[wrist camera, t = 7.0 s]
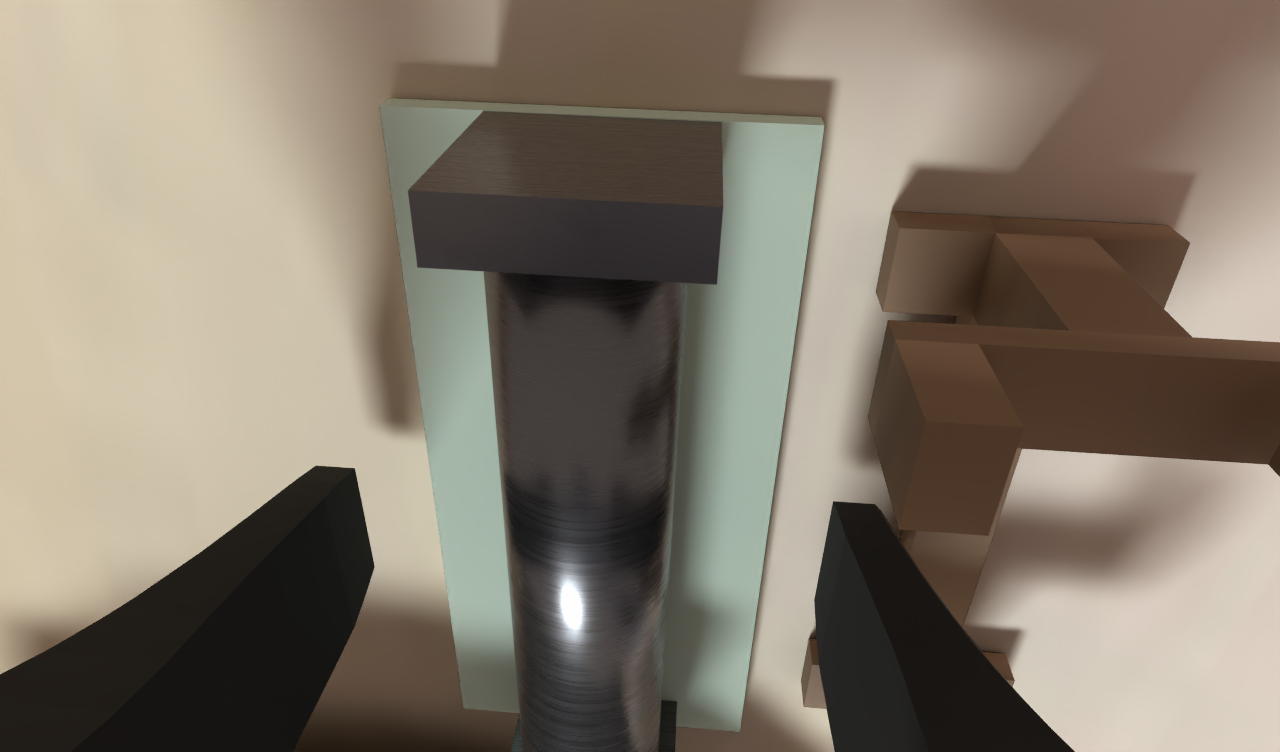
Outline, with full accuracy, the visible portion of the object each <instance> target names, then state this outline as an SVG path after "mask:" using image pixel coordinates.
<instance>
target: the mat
mask: <svg viewBox="0 0 1280 752" xmlns="http://www.w3.org/2000/svg"><path fill="white" fill-rule="evenodd" d="M379 108H380V115H381V122H382V130H383V137H384V144H385V151H386V158H387V165H388V172H389V180H390V187H391V194H392V201H393V208H394V215H395V222H396V230H397V237H398V244H399V251H400V258H401V265H402V273H403V280H404V287H405V294H406V301H407V308H408V315H409V323H410V330H411V337H412V344H413V351H414V358H415V365H416V373H417V380H418V387H419V394H420V401H421V408H422V415H423V423H424V430H425V437H426V444H427V451H428V458H429V466H430V473H431V480H432V487H433V494H434V501H435V508H436V516H437V523H438V530H439V537H440V544H441V551H442V558H443V566H444V573H445V580H446V587H447V594H448V601H449V608H450V616H451V623H452V630H453V637H454V644H455V651H456V658H457V666H458V673H459V680H460V687H461V694H462V701H463V709H474V710H486V711H498V712H509V713H519V703H518V691H517V679H516V666H515V654H514V642H513V629H512V617H511V605H510V592H509V580H508V568H507V555H506V543H505V531H504V518H503V506H502V493H501V481H500V469H499V456H498V444H497V432H496V419H495V407H494V395H493V382H492V370H491V358H490V345H489V333H488V321H487V308H486V296H485V284H484V271H468V270H450V269H433V268H417V260H416V252H415V244H414V236H413V228H412V220H411V213H410V205H409V197H408V190H409V189H410V188H411V186H412V185H413V184H414V183H415V182H416V181H417V180H418V179H419V178H420V177H421V176H422V175H423V174H424V173H425V172H426V171H427V170H428V169H429V168H430V166H431V165H432V164H433V163H434V162H435V161H436V160H437V159H438V158H439V157H440V156H441V155H442V154H443V153H444V152H445V151H446V150H447V149H448V148H449V146H450V145H451V144H452V143H453V142H454V141H455V140H456V139H457V138H458V137H459V136H460V135H461V134H462V133H463V132H464V131H465V130H466V129H467V128H468V126H469V125H470V124H471V123H472V122H473V121H474V120H475V119H476V118H477V117H478V116H479V115H480V114H481V113H482V112H483V111H493V112H515V113H536V114H557V115H579V116H600V117H622V118H643V119H664V120H686V121H707V122H722V163H723V217H722V229H721V242H720V254H719V266H718V278H717V285H712V284H695V283H687V293H686V309H685V325H684V342H683V358H682V374H681V391H680V407H679V423H678V439H677V456H676V472H675V488H674V505H673V521H672V537H671V554H670V570H669V586H668V603H667V619H666V635H665V651H664V668H663V684H662V700H666V701H677V715H676V727H687V728H699V729H710V730H722V731H734V732H740V726H741V719H742V712H743V705H744V698H745V691H746V683H747V676H748V669H749V662H750V655H751V648H752V641H753V633H754V626H755V619H756V612H757V605H758V598H759V591H760V583H761V576H762V569H763V562H764V555H765V548H766V541H767V533H768V526H769V519H770V512H771V505H772V498H773V490H774V483H775V476H776V469H777V462H778V455H779V448H780V440H781V433H782V426H783V419H784V412H785V405H786V398H787V390H788V383H789V376H790V369H791V362H792V355H793V347H794V340H795V333H796V326H797V319H798V312H799V305H800V297H801V290H802V283H803V276H804V269H805V262H806V255H807V247H808V240H809V233H810V226H811V219H812V212H813V204H814V197H815V190H816V183H817V176H818V169H819V162H820V154H821V147H822V140H823V133H824V126H825V125H824V123H823V121H822V118H821V117H807V116H784V115H761V114H739V113H716V112H693V111H670V110H647V109H625V108H602V107H579V106H556V105H534V104H511V103H488V102H465V101H442V100H420V99H397V98H389V99H388V100H387V101H385V102H384V103H382V104H381V105H379Z"/></svg>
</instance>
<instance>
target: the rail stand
mask: <svg viewBox="0 0 1280 752" xmlns="http://www.w3.org/2000/svg"><path fill="white" fill-rule="evenodd" d="M1189 245H1190V242H1188V241H1187V240H1186V239H1185V238H1183V237H1182V236H1181V235H1180V234H1178V233H1177V232H1176V231H1175V230H1173V229H1172V228H1171V227H1170V226H1168V225H1152V224H1132V223H1112V222H1092V221H1072V220H1052V219H1032V218H1012V217H992V216H972V215H952V214H932V213H912V212H892V211H891V216H890V221H889V226H888V231H887V237H886V242H885V247H884V252H883V257H882V263H881V268H880V273H879V278H878V283H877V288H876V294H877V297H878V300H879V302H880V305H881V308H882V310H883V312H899V313H916V314H934V315H952V316H957V318H956V322H955V324H945V323H927V322H910V321H892V320H888V322H887V327H886V332H885V337H884V342H883V347H882V352H881V357H880V361H879V366H878V371H877V376H876V381H875V386H874V391H873V395H872V400H871V405H870V410H869V415H868V419H869V423H870V426H871V430H872V434H873V437H874V441H875V445H876V448H877V452H878V456H879V459H880V463H881V467H882V470H883V474H884V477H885V481H886V485H887V488H888V492H889V496H890V499H891V503H892V507H893V510H894V514H895V518H896V521H897V525H898V529H899V530H903V531H902V535H901V538H900V541H901V543H902V544H903V546H904V547H905V549H906V550H907V552H908V553H909V555H910V556H911V558H912V559H913V561H914V562H915V563H916V565H917V566H918V568H919V569H920V571H921V572H922V574H923V575H924V576H925V578H926V579H927V581H928V582H929V583H930V585H931V586H932V588H933V589H934V590H935V592H936V593H937V594H938V596H939V597H940V598H941V600H942V601H943V602H944V604H945V605H946V606H947V608H948V609H949V610H950V612H951V613H952V615H953V616H954V617H955V619H956V620H957V621H958V623H959V624H960V625H961V626H962V628H963V625H964V622H965V619H966V616H967V613H968V610H969V607H970V604H971V601H972V598H973V595H974V592H975V589H976V586H977V583H978V580H979V577H980V574H981V571H982V568H983V565H984V562H985V559H986V556H987V553H988V550H989V547H990V544H991V541H992V538H993V535H994V532H995V528H996V525H997V522H998V519H999V516H1000V513H1001V510H1002V507H1003V504H1004V501H1005V498H1006V495H1007V492H1008V489H1009V486H1010V483H1011V480H1012V477H1013V474H1014V471H1015V468H1016V465H1017V462H1018V459H1019V456H1020V453H1021V450H1022V448H1023V449H1038V450H1054V451H1069V452H1085V453H1100V454H1115V455H1131V456H1146V457H1162V458H1177V459H1193V460H1208V461H1224V462H1239V463H1254V464H1268V465H1269V466H1270V467H1271V468H1272V469H1273V470H1274V471H1275V472H1276V473H1277V474H1278V475H1279V477H1280V343H1279V342H1261V341H1244V340H1226V339H1208V338H1193V337H1191V336H1190V335H1189V334H1188V333H1187V332H1186V331H1185V330H1184V329H1183V328H1182V327H1181V326H1180V325H1179V324H1178V323H1177V322H1176V321H1175V320H1174V319H1173V318H1172V317H1171V316H1170V315H1169V314H1168V313H1167V312H1166V311H1165V310H1164V307H1165V305H1166V302H1167V300H1168V297H1169V295H1170V292H1171V290H1172V287H1173V285H1174V282H1175V280H1176V277H1177V275H1178V272H1179V270H1180V267H1181V265H1182V262H1183V260H1184V257H1185V255H1186V252H1187V250H1188V247H1189ZM983 654H984V655H985V656H986V657H987V658H988V660H989V661H990V662H991V663H992V664H993V666H994V667H995V668H996V669H997V670H998V671H999V673H1000V674H1001V675H1002V676H1003V677H1004V678H1005V679H1006V681H1007V682H1008V683H1009V684H1010V685H1011V686H1013V684H1014V681H1015V680H1014V678H1013V675H1012V672H1011V669H1010V667H1009V664H1008V661H1007V658H1006V656H1005V654H1002V653H989V652H983ZM801 685H802V694H803V704H804V707H812V708H824V709H827V707H826V702H825V696H824V691H823V686H822V680H821V674H820V669H819V661H818V648H817V639H810V638H809V642H808V647H807V652H806V657H805V662H804V668H803V673H802V678H801Z"/></svg>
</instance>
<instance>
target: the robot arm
mask: <svg viewBox="0 0 1280 752" xmlns="http://www.w3.org/2000/svg"><path fill="white" fill-rule="evenodd" d="M373 570H374V562H373V557H372V552H371V547H370V542H369V537H368V532H367V527H366V522H365V517H364V512H363V507H362V502H361V497H360V492H359V487H358V482H357V477H356V472H355V468H341V467H327V466H315V467H313V468H312V469H311V470H309V471H308V472H306V473H305V474H304V475H302V476H301V477H300V478H298V479H297V480H296V481H294V482H293V483H292V484H290V485H289V486H288V487H286V488H285V489H284V490H282V491H281V492H280V493H278V494H277V495H276V496H275V497H273V498H272V499H271V500H269V501H268V502H267V503H265V504H264V505H263V506H262V507H260V508H259V509H258V510H256V511H255V512H254V513H252V514H251V515H250V516H249V517H247V518H246V519H245V520H243V521H242V522H241V523H239V524H238V525H237V526H235V527H234V528H233V529H231V530H230V531H229V532H227V533H226V534H225V535H223V536H222V537H221V538H219V539H218V540H217V541H215V542H214V543H213V544H211V545H210V546H209V547H207V548H206V549H204V550H203V551H202V552H200V553H199V554H198V555H196V556H195V557H193V558H192V559H190V560H189V561H187V562H186V563H184V564H183V565H182V566H180V567H179V568H177V569H176V570H174V571H173V572H171V573H170V574H169V575H167V576H166V577H164V578H163V579H161V580H160V581H158V582H157V583H155V584H154V585H153V586H151V587H150V588H148V589H147V590H145V591H144V592H142V593H141V594H139V595H138V596H137V597H135V598H133V599H132V600H130V601H129V602H127V603H126V604H124V605H123V606H121V607H119V608H118V609H116V610H115V611H113V612H111V613H110V614H108V615H106V616H105V617H103V618H102V619H100V620H98V621H97V622H95V623H93V624H91V625H90V626H88V627H86V628H85V629H83V630H81V631H80V632H78V633H76V634H74V635H73V636H71V637H69V638H68V639H66V640H64V641H63V642H61V643H59V644H57V645H55V646H54V647H52V648H50V649H48V650H46V651H45V652H43V653H41V654H39V655H37V656H35V657H33V658H31V659H29V660H27V661H25V662H23V663H22V664H20V665H18V666H16V667H14V668H12V669H10V670H8V671H6V672H4V673H2V674H0V752H293V750H294V748H295V746H296V744H297V742H298V740H299V738H300V736H301V734H302V732H303V730H304V728H305V726H306V724H307V722H308V720H309V718H310V716H311V714H312V712H313V710H314V708H315V706H316V704H317V702H318V700H319V698H320V696H321V694H322V692H323V690H324V688H325V686H326V684H327V682H328V680H329V678H330V676H331V674H332V672H333V670H334V668H335V666H336V664H337V662H338V660H339V658H340V656H341V654H342V651H343V649H344V647H345V645H346V643H347V641H348V639H349V637H350V635H351V633H352V631H353V629H354V626H355V623H356V620H357V618H358V615H359V612H360V609H361V606H362V604H363V601H364V598H365V595H366V592H367V589H368V586H369V582H370V579H371V576H372V573H373ZM814 601H815V618H816V634H817V648H818V661H819V669H820V674H821V680H822V686H823V691H824V696H825V702H826V707H827V713H828V718H829V723H830V729H831V734H832V739H833V745H834V750H835V752H1075V751H1074V750H1073V749H1072V748H1071V747H1069V746H1068V745H1067V744H1066V743H1065V742H1064V741H1063V740H1062V739H1061V738H1060V737H1059V736H1058V735H1057V734H1056V733H1055V732H1054V731H1053V730H1052V729H1051V728H1050V727H1049V726H1048V725H1047V724H1046V723H1045V722H1044V721H1043V719H1042V718H1041V717H1040V716H1039V715H1038V714H1037V713H1036V712H1035V711H1034V710H1033V709H1032V708H1031V707H1030V706H1029V705H1028V704H1027V703H1026V702H1025V701H1024V700H1023V698H1022V697H1021V696H1020V695H1019V694H1018V693H1017V692H1016V691H1015V690H1014V689H1013V687H1012V686H1011V685H1010V684H1009V683H1008V682H1007V681H1006V679H1005V678H1004V677H1003V676H1002V675H1001V674H1000V673H999V671H998V670H997V669H996V668H995V667H994V666H993V664H992V663H991V662H990V661H989V660H988V658H987V657H986V656H985V655H984V654H983V652H982V651H981V650H980V649H979V648H978V646H977V645H976V644H975V643H974V642H973V640H972V639H971V638H970V636H969V635H968V634H967V633H966V631H965V630H964V629H963V628H962V626H961V625H960V624H959V623H958V621H957V620H956V619H955V617H954V616H953V615H952V613H951V612H950V610H949V609H948V608H947V606H946V605H945V604H944V602H943V601H942V600H941V598H940V597H939V596H938V594H937V593H936V592H935V590H934V589H933V588H932V586H931V585H930V583H929V582H928V581H927V579H926V578H925V576H924V575H923V574H922V572H921V571H920V569H919V568H918V566H917V565H916V563H915V562H914V561H913V559H912V558H911V556H910V555H909V553H908V552H907V550H906V549H905V547H904V546H903V544H902V543H901V541H900V540H899V538H898V537H897V535H896V533H895V532H894V530H893V529H892V527H891V526H890V524H889V523H888V521H887V519H886V518H885V516H884V515H883V513H882V512H881V510H880V509H879V508H878V507H877V506H876V505H875V504H863V503H848V502H834V501H833V505H832V511H831V516H830V521H829V526H828V532H827V537H826V542H825V547H824V553H823V558H822V563H821V568H820V574H819V579H818V584H817V589H816V595H815V600H814Z"/></svg>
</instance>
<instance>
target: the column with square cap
mask: <svg viewBox="0 0 1280 752" xmlns="http://www.w3.org/2000/svg"><path fill="white" fill-rule="evenodd" d="M408 197H409V205H410V213H411V220H412V228H413V236H414V244H415V252H416V260H417V268H433V269H450V270H468V271H484V284H485V296H486V308H487V321H488V333H489V345H490V358H491V370H492V382H493V395H494V407H495V419H496V432H497V444H498V456H499V469H500V481H501V493H502V506H503V518H504V531H505V543H506V555H507V568H508V580H509V592H510V605H511V617H512V629H513V642H514V654H515V666H516V679H517V691H518V703H519V718H518V723H517V727H516V731H515V735H514V740H513V744H512V748H511V752H675V736H676V715H677V701H666V700H662V684H663V668H664V651H665V635H666V619H667V603H668V586H669V570H670V554H671V537H672V521H673V505H674V488H675V472H676V456H677V439H678V423H679V407H680V391H681V374H682V358H683V342H684V325H685V309H686V293H687V283H695V284H712V285H717V278H718V266H719V254H720V242H721V229H722V217H723V163H722V122H707V121H686V120H664V119H643V118H622V117H600V116H579V115H557V114H536V113H515V112H493V111H483V112H482V113H481V114H480V115H479V116H478V117H477V118H476V119H475V120H474V121H473V122H472V123H471V124H470V125H469V126H468V128H467V129H466V130H465V131H464V132H463V133H462V134H461V135H460V136H459V137H458V138H457V139H456V140H455V141H454V142H453V143H452V144H451V145H450V146H449V148H448V149H447V150H446V151H445V152H444V153H443V154H442V155H441V156H440V157H439V158H438V159H437V160H436V161H435V162H434V163H433V164H432V165H431V166H430V168H429V169H428V170H427V171H426V172H425V173H424V174H423V175H422V176H421V177H420V178H419V179H418V180H417V181H416V182H415V183H414V184H413V185H412V186H411V188H410V189H409V190H408Z"/></svg>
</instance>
